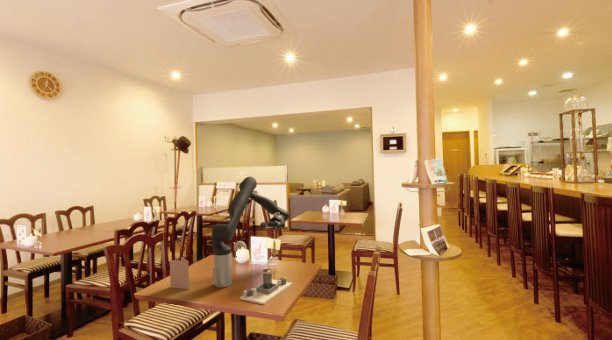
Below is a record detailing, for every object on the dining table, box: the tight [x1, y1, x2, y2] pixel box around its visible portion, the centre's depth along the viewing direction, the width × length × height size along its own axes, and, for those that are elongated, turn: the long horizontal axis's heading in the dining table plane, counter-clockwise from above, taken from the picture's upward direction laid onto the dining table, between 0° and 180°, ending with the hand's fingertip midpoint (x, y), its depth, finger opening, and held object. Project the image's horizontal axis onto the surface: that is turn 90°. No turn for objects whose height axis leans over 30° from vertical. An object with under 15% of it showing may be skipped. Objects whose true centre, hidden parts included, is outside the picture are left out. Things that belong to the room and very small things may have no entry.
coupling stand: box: [239, 277, 293, 306], centre depth 154 cm, size 14×26×4 cm, turn 152°
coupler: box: [262, 268, 273, 289], centre depth 154 cm, size 5×5×10 cm
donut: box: [233, 240, 247, 253], centre depth 224 cm, size 10×4×10 cm, turn 71°
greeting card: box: [169, 256, 190, 290], centre depth 163 cm, size 11×7×15 cm, turn 41°
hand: (270, 227), depth 170 cm, fingers open, 8 cm apart
